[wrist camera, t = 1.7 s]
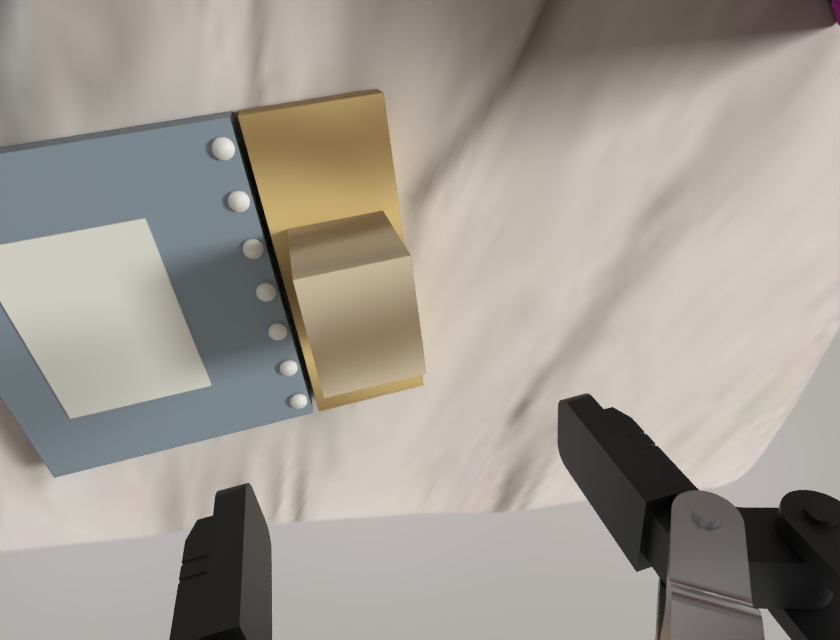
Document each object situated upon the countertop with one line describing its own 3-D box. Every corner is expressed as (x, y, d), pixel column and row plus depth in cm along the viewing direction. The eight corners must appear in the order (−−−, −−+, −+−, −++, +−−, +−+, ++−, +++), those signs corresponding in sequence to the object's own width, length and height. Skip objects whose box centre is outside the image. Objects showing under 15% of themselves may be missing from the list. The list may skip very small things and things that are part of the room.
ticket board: (-119, 166, 19) (-152, 178, 17) (231, 111, 20) (228, 118, 19) (64, 455, 26) (52, 480, 24) (311, 394, 28) (313, 415, 26)
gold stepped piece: (239, 110, 20) (230, 143, 15) (377, 88, 21) (414, 112, 16) (316, 395, 28) (329, 485, 22) (417, 371, 28) (453, 452, 23)
